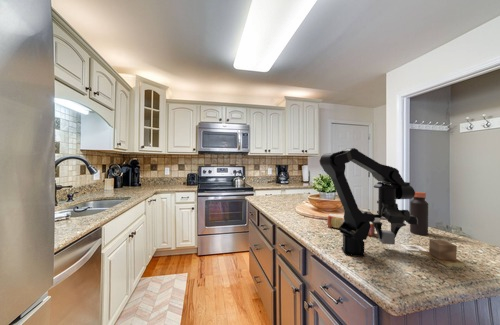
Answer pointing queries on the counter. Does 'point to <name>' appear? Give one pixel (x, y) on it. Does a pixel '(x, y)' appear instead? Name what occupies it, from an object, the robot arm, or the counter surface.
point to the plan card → (413, 248)
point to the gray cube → (387, 237)
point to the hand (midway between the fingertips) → (386, 239)
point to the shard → (445, 262)
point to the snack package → (338, 220)
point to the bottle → (419, 214)
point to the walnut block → (442, 249)
